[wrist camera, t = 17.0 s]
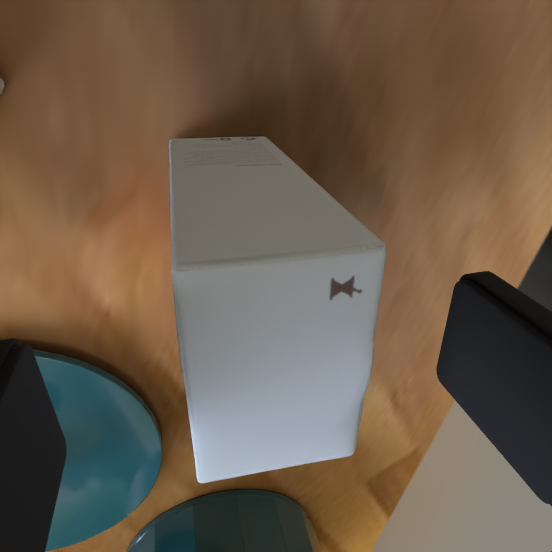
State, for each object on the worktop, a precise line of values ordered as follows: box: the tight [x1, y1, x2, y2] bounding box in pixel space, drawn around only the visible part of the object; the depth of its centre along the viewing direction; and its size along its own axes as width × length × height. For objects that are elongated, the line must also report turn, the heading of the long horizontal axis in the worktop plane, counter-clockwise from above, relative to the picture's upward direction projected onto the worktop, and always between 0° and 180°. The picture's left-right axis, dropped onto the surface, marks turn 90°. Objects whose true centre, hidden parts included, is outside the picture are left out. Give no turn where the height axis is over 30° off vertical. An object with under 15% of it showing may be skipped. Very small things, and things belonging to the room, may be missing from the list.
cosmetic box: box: [169, 136, 387, 483], centre depth 14 cm, size 6×4×12 cm
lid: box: [33, 350, 162, 551], centre depth 20 cm, size 15×15×7 cm
